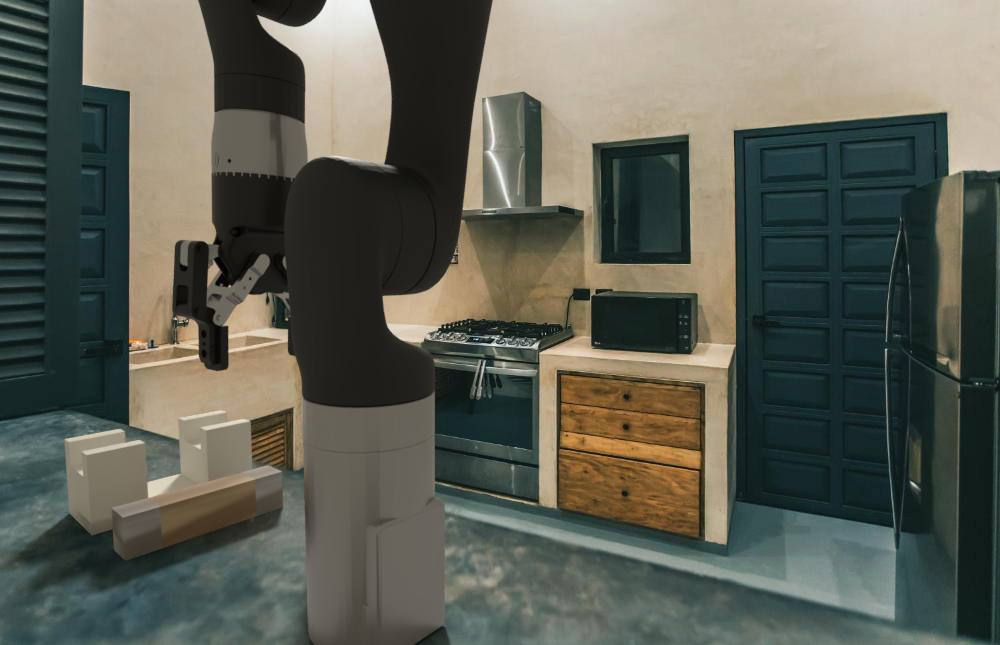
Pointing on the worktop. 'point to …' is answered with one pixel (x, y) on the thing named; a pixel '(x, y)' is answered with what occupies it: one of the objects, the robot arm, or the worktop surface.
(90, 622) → the worktop surface
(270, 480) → the rail
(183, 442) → the white notched block
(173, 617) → the worktop surface
